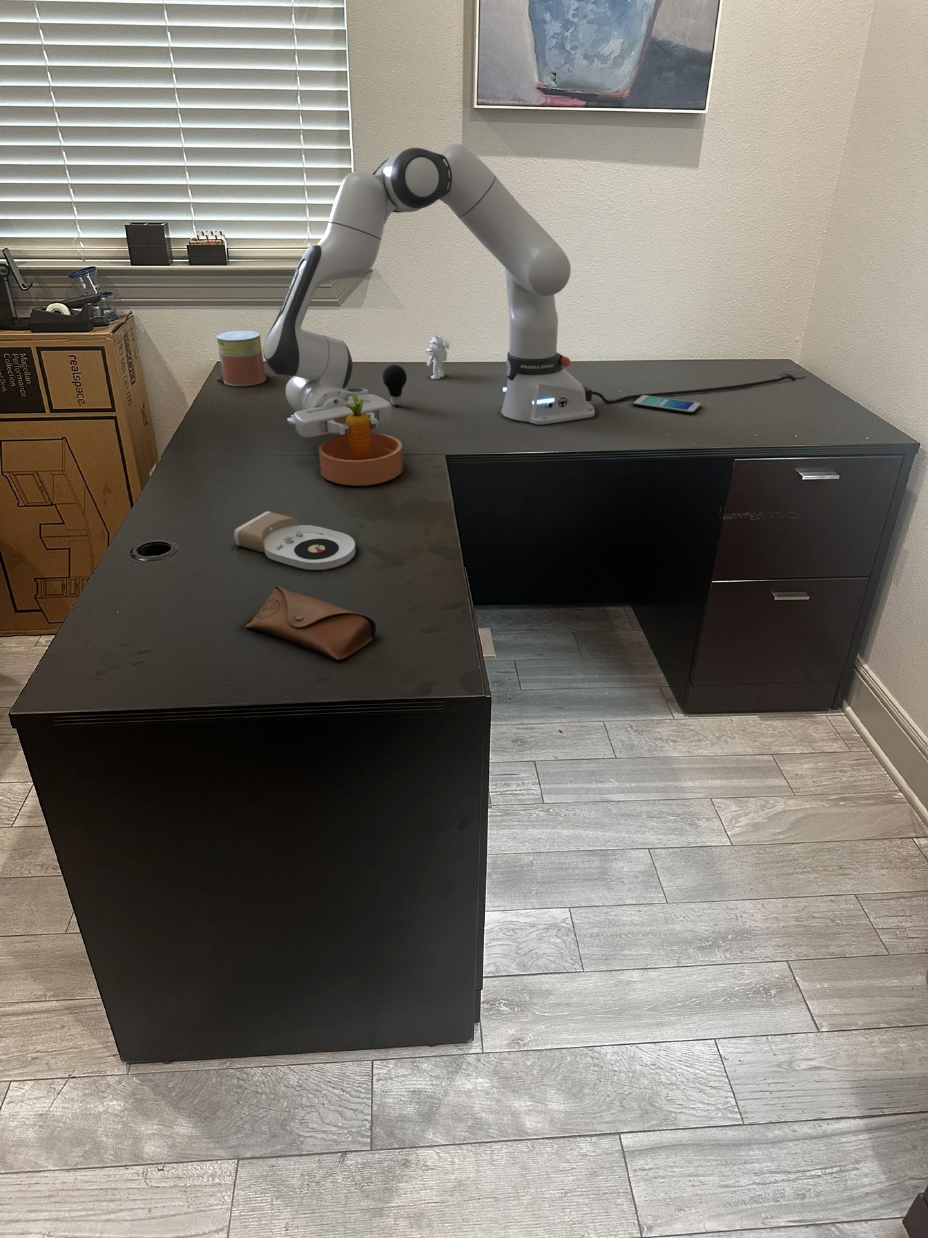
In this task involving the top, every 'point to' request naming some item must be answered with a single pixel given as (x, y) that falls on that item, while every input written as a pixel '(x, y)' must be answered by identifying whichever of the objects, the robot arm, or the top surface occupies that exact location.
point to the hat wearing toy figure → (437, 355)
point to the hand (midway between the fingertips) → (360, 427)
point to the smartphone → (667, 404)
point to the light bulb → (395, 382)
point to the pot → (361, 461)
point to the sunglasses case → (313, 624)
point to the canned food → (241, 357)
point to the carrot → (358, 431)
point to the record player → (295, 542)
